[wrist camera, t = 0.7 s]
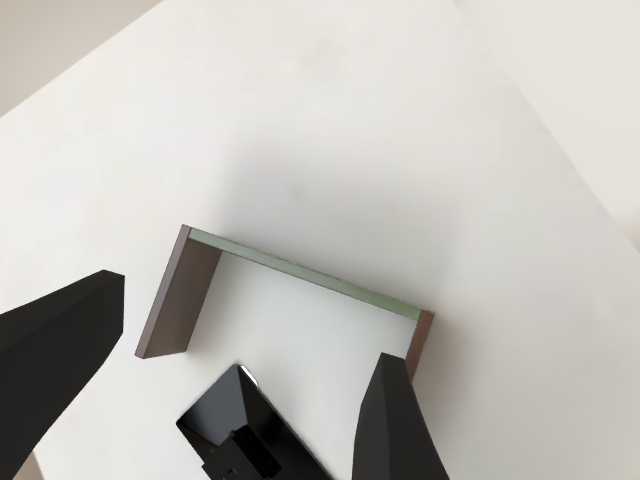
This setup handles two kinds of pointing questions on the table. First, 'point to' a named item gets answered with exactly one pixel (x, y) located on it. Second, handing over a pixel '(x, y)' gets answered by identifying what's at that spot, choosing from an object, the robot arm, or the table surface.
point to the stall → (194, 279)
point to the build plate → (245, 434)
